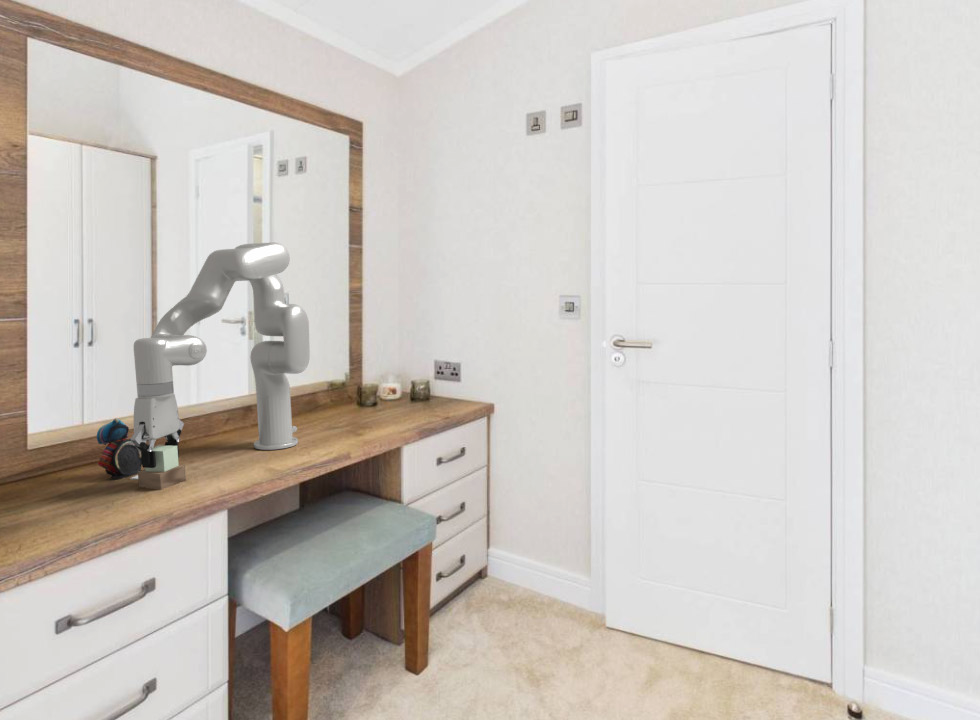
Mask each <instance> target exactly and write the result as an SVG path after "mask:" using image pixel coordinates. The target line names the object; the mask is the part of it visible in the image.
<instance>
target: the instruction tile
mask: <svg viewBox="0 0 980 720" xmlns="http://www.w3.org/2000/svg"><path fill="white" fill-rule="evenodd" d="M130 480H137V481H138V474H136V475H133V476H131V477H130Z"/></svg>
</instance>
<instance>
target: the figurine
mask: <svg viewBox="0 0 980 720" xmlns="http://www.w3.org/2000/svg"><path fill="white" fill-rule="evenodd" d="M129 430H130V428H129V426H127V424H126V423H124V422H123V421H121V419H118V418H116V417H115V418H114V419H113V420H112V421H110V422H109V423H106V424H104V425H101V426H100V427H99V429H98V430H97V433H96V440H97V444H99V445H103V446H105V445H107V446H106V447H105V448H104V450H103V451H102V453H101V455H100V457H99V459H98V463H97V465H98V466H99V467H101V468H103V469H104V470H105V472H106V475H110V479H111V480H112V481H116V480H122V479H125V478H128V477H134V476H136V475H138V471H141V470H142V458H141V452H140V451H139V450H138V448H137V447H136V446H135V444H134V443H133V442H132V441H131V438H129ZM127 438H128V439H127Z"/></svg>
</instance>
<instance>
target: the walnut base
mask: <svg viewBox="0 0 980 720" xmlns="http://www.w3.org/2000/svg"><path fill="white" fill-rule="evenodd" d="M137 475H138V480H137V481H138V487H139V488H144V487H145V488H144V489H152V488H153V490H165V489H166V488H170V487H172V486H175V485H177V484H180V482H181V483H183V482H185V481H187V478H186V477H187V476H186V465H181V464H179V466H177V467H175V468H172V469H170V470H168V471H165V472H153V471H145V468H144V469H141V471H138V474H137ZM164 488H165V489H164Z"/></svg>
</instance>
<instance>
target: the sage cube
mask: <svg viewBox="0 0 980 720" xmlns="http://www.w3.org/2000/svg"><path fill="white" fill-rule="evenodd" d="M152 451H155V457H156V467H155V468H144V469H145V471H153V472H165V471H168V470H170V469H172V468H175V467H177V466H179V465H180V464H179V458H178V450H177V446H166V445H165V444H163V445H161V444H159V445H154V447H153V450H152Z"/></svg>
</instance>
